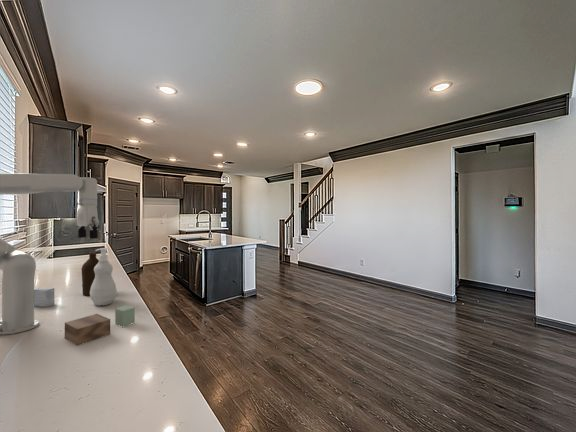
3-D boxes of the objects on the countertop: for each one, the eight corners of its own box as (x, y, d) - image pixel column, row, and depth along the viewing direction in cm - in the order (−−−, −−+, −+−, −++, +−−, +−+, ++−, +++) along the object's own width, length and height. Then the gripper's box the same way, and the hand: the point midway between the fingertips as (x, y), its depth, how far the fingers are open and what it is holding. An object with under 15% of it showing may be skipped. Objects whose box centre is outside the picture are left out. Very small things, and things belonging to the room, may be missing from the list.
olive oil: (107, 292, 162) (107, 251, 162) (89, 297, 152) (89, 253, 152) (95, 290, 166) (95, 250, 166) (77, 295, 156) (77, 252, 156)
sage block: (122, 327, 113) (122, 311, 113) (115, 324, 116) (115, 308, 116) (134, 323, 117) (134, 307, 117) (127, 320, 120) (127, 305, 120)
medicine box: (54, 304, 140) (54, 287, 140) (46, 307, 136) (46, 290, 136) (41, 303, 141) (41, 287, 141) (32, 306, 137) (32, 289, 137)
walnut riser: (77, 345, 97) (77, 329, 97) (64, 338, 103) (64, 322, 103) (110, 334, 106) (110, 319, 106) (96, 327, 112) (97, 313, 112)
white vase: (86, 302, 144) (86, 247, 144) (111, 297, 153) (111, 246, 152) (93, 310, 133) (94, 251, 132) (120, 304, 141) (120, 248, 141)
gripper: (69, 202, 131) (69, 237, 131) (89, 202, 123) (89, 239, 123) (86, 203, 138) (86, 236, 138) (106, 203, 130) (106, 238, 130)
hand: (87, 237), depth 131 cm, fingers open, 9 cm apart
